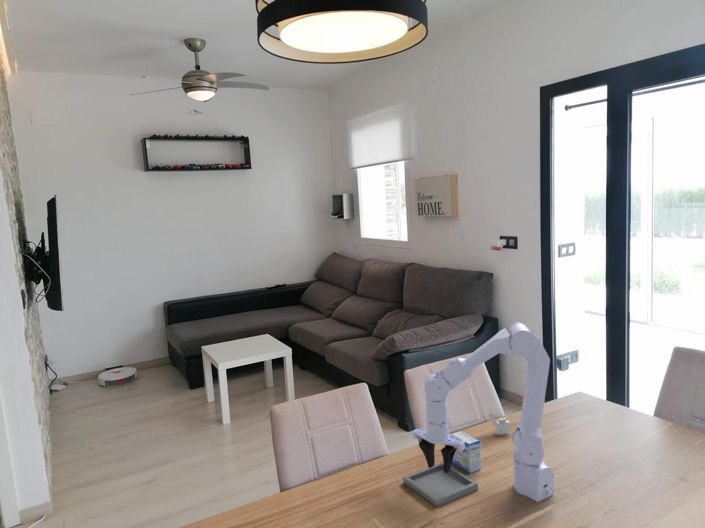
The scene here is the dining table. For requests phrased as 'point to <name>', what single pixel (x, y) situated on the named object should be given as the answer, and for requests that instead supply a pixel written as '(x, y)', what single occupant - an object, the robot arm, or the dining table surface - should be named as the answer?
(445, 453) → the robot arm
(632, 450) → the dining table surface
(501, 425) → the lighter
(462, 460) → the medicine box
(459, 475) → the tray
